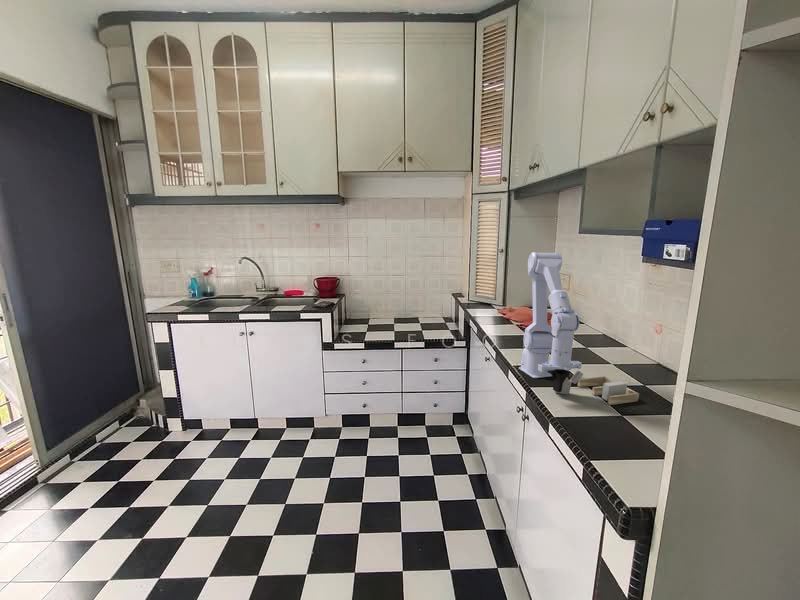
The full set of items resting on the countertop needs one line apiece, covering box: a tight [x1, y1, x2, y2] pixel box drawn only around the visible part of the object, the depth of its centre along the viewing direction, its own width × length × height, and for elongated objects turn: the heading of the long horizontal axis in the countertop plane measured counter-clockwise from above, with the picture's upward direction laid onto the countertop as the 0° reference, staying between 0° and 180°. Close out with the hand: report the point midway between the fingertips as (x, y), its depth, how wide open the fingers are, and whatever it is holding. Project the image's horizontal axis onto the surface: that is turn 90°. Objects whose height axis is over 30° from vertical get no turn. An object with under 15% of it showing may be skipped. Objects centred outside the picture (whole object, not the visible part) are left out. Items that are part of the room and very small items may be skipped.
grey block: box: [601, 380, 628, 402], centre depth 109 cm, size 2×7×5 cm, turn 105°
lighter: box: [554, 369, 584, 396], centre depth 111 cm, size 7×2×8 cm, turn 84°
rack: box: [577, 375, 640, 406], centre depth 112 cm, size 13×11×2 cm
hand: (557, 390), depth 110 cm, fingers closed, pressing on lighter
